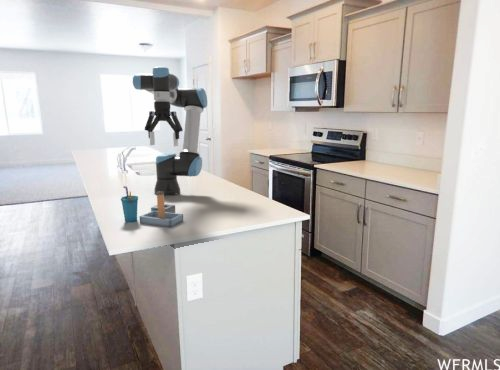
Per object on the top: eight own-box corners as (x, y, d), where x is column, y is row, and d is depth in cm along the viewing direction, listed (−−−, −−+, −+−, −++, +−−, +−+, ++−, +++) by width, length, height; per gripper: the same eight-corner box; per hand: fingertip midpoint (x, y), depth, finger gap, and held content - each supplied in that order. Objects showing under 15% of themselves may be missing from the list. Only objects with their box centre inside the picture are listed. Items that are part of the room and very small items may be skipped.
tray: (139, 222, 159) (139, 216, 158) (153, 216, 168) (153, 210, 168) (170, 227, 153) (170, 220, 153) (183, 220, 162) (183, 214, 162)
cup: (117, 217, 167) (115, 185, 164) (134, 214, 171) (132, 184, 168) (126, 225, 155) (123, 191, 152) (144, 222, 160) (142, 189, 157)
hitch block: (151, 215, 170) (151, 207, 169) (161, 211, 177) (161, 203, 176) (165, 217, 167) (165, 209, 166) (175, 213, 174) (175, 205, 173)
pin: (156, 221, 160) (155, 192, 157) (160, 219, 163) (159, 191, 160) (162, 221, 159) (161, 193, 156) (166, 219, 161) (165, 191, 159)
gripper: (135, 101, 173) (138, 145, 178) (180, 100, 164) (181, 147, 169) (145, 101, 180) (147, 143, 184) (188, 101, 171) (190, 145, 175)
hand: (164, 145), depth 176 cm, fingers open, 13 cm apart
